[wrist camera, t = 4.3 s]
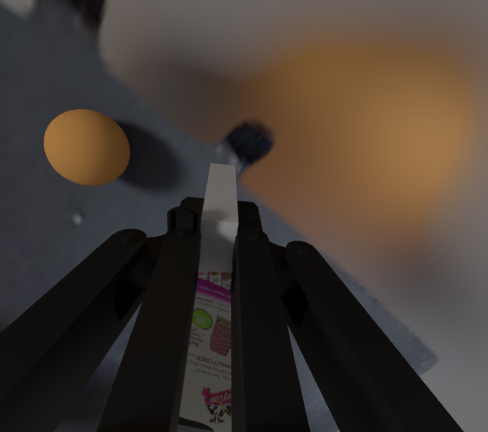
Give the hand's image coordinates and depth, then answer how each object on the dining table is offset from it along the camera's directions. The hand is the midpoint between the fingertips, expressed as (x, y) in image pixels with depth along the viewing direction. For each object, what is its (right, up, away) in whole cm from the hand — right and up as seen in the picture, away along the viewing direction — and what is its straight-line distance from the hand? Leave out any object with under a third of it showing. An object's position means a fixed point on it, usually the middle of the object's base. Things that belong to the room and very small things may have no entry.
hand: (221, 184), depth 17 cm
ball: (-10, +3, +3) cm, 11 cm away
